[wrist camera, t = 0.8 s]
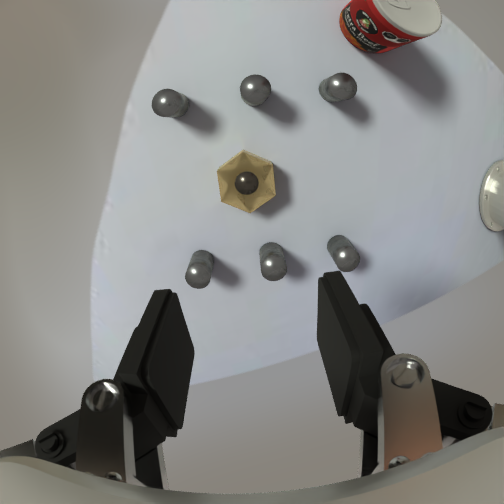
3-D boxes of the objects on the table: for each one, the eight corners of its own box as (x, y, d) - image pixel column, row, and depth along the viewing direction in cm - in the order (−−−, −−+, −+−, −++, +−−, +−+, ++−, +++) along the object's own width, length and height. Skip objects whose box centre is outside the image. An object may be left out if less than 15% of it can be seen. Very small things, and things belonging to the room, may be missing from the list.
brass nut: (255, 140, 31) (256, 142, 28) (284, 181, 33) (288, 186, 30) (207, 175, 33) (204, 180, 30) (238, 213, 35) (237, 222, 32)
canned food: (325, 14, 24) (356, -22, 14) (371, -3, 22) (411, -33, 12) (361, 63, 26) (406, 45, 16) (404, 43, 25) (454, 27, 15)
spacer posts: (341, 78, 27) (355, 73, 23) (347, 254, 37) (359, 270, 33) (162, 96, 28) (150, 92, 24) (193, 271, 38) (188, 289, 34)
